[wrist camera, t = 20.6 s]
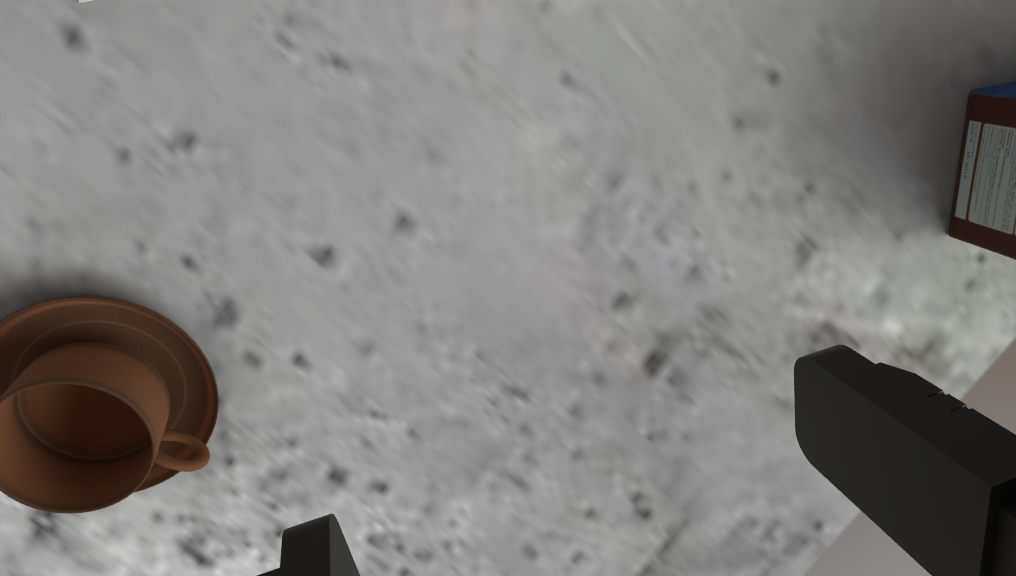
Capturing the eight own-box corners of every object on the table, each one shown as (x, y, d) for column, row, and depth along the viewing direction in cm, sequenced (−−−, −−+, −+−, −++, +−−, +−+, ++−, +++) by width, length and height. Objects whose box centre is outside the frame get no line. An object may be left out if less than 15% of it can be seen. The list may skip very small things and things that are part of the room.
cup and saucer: (228, 294, 37) (212, 343, 32) (217, 476, 41) (202, 548, 35) (-33, 273, 33) (-102, 325, 28) (-17, 475, 37) (-75, 556, 32)
